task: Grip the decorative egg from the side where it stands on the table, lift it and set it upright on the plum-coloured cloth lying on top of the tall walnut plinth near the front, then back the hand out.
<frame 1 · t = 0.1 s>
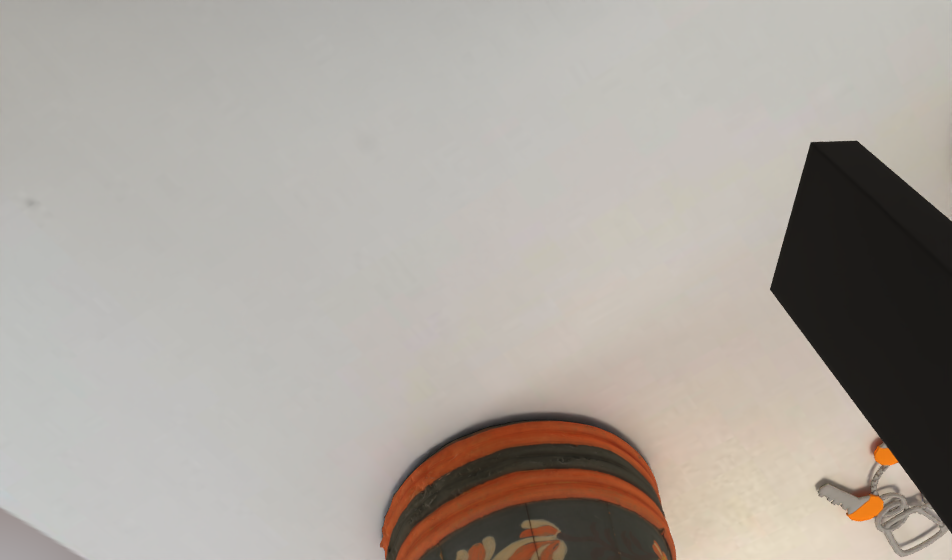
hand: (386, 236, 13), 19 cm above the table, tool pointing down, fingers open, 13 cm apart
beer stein: (538, 533, 48), on the table
key chain: (895, 480, 49), on the table
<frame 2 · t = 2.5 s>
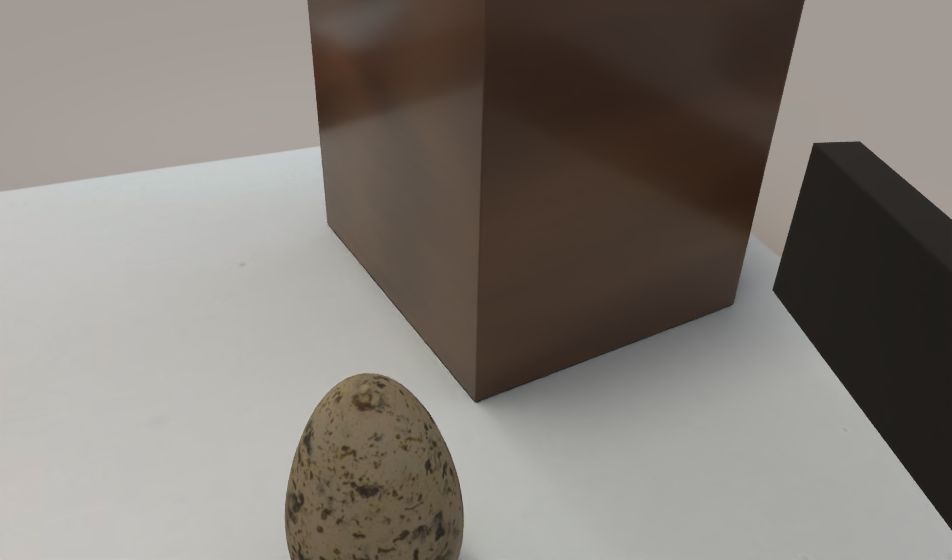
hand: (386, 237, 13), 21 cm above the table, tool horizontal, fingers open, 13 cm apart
plinth: (518, 261, 50), on the table
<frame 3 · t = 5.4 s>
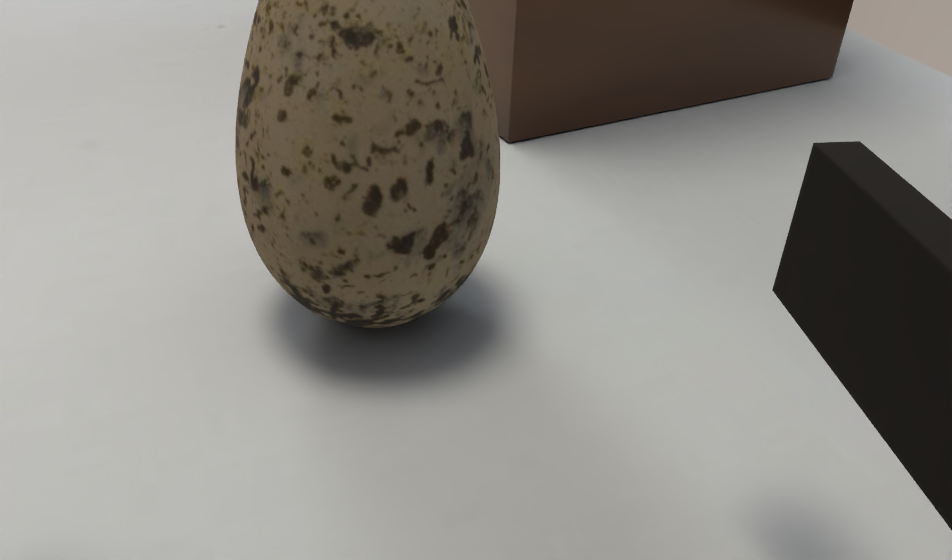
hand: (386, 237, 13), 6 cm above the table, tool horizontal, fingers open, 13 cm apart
decorative egg: (375, 313, 22), on the table
plinth: (560, 36, 40), on the table
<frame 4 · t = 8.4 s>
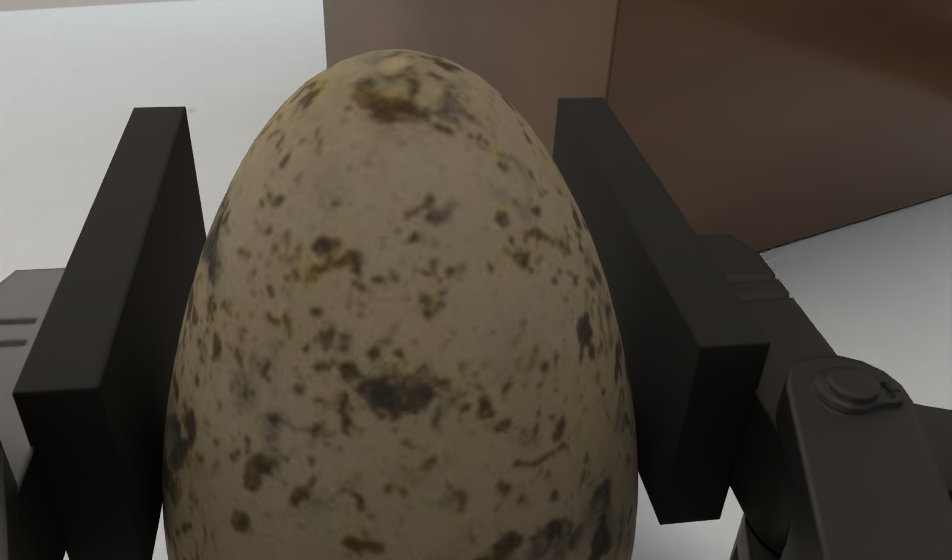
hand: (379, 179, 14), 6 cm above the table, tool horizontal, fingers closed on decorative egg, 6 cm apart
plinth: (622, 120, 32), on the table
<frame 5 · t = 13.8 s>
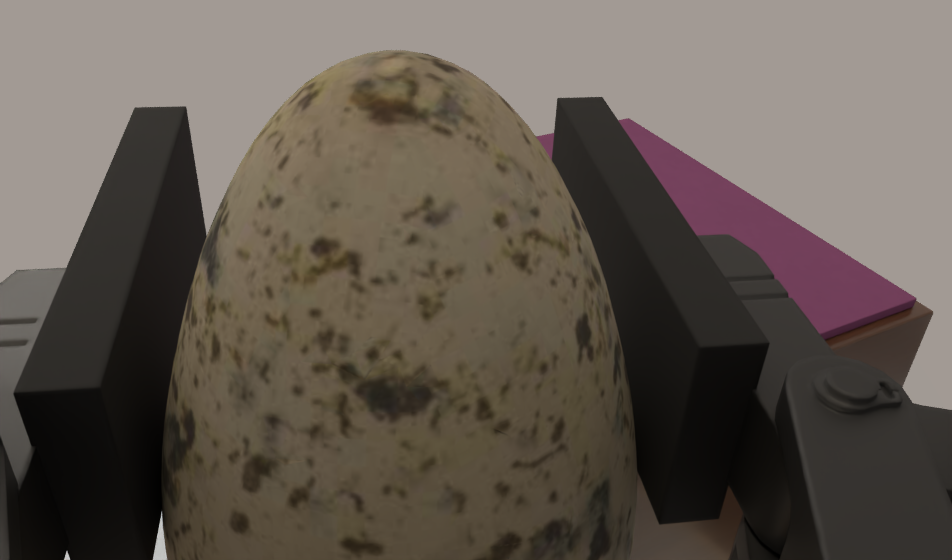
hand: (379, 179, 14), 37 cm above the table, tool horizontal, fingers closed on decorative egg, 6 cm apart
cloth: (603, 239, 34), resting on plinth
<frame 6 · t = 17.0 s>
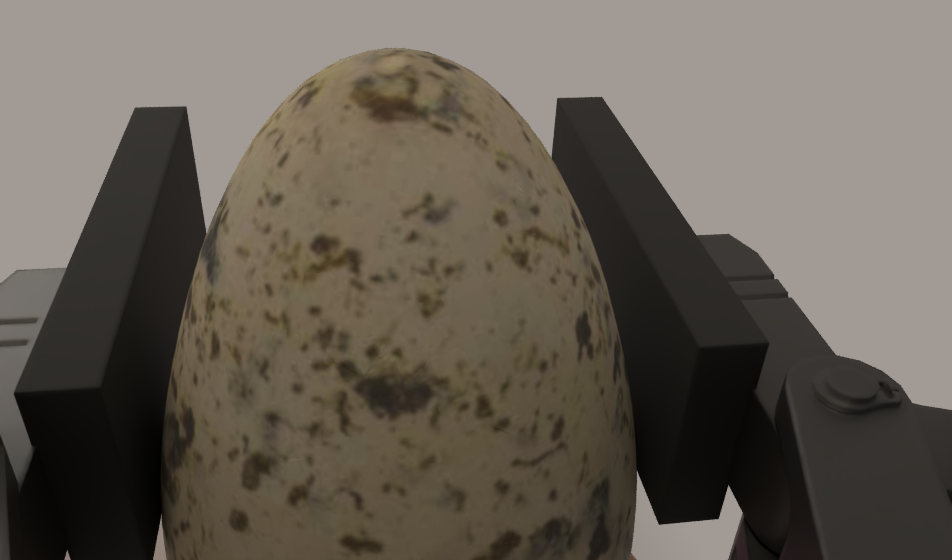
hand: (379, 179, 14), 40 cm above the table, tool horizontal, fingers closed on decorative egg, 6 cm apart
when the fingers open (32 cm above the table, at t = 19.5 s): decorative egg stays where it is, resting on cloth.
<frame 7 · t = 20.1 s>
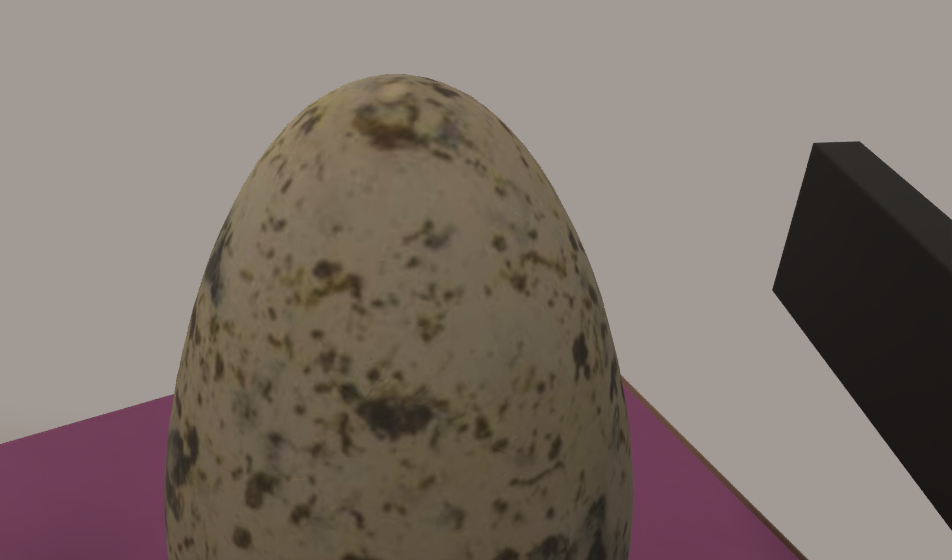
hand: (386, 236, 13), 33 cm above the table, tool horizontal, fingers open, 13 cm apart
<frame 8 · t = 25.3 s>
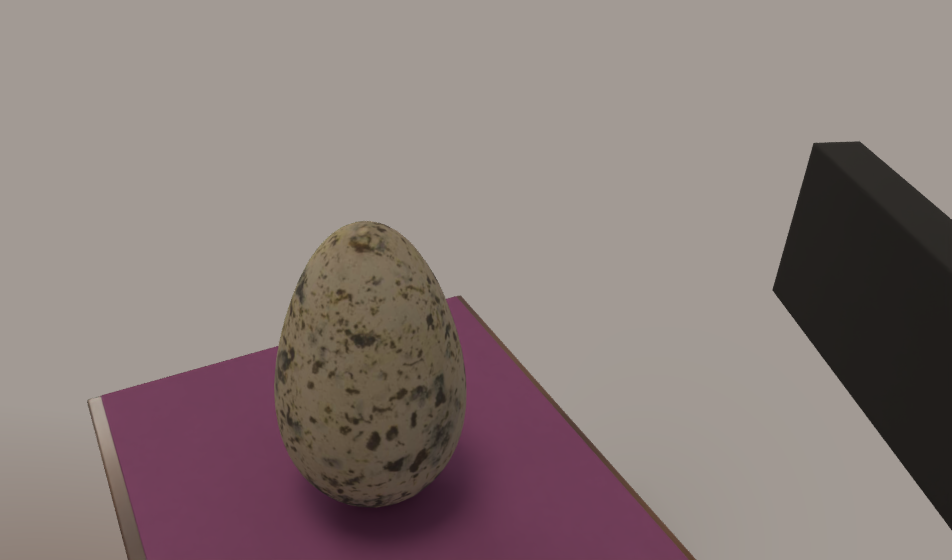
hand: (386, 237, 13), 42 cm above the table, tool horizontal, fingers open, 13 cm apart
decorative egg: (375, 484, 30), point 26 cm above the table, touching cloth
cloth: (376, 489, 30), resting on plinth
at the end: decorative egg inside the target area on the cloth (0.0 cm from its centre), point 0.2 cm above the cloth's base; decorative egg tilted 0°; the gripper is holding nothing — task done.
